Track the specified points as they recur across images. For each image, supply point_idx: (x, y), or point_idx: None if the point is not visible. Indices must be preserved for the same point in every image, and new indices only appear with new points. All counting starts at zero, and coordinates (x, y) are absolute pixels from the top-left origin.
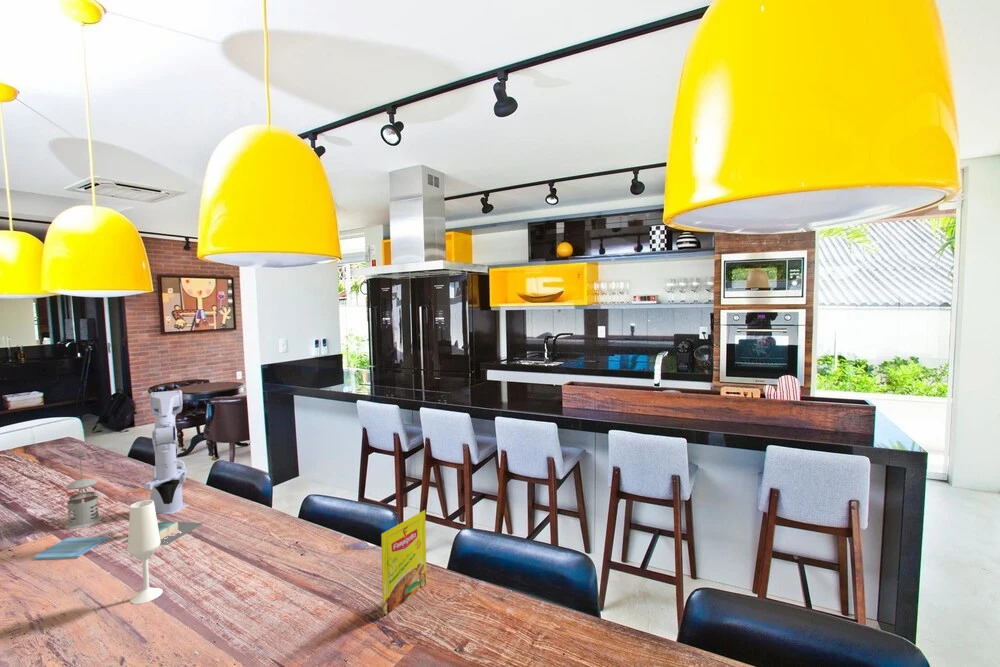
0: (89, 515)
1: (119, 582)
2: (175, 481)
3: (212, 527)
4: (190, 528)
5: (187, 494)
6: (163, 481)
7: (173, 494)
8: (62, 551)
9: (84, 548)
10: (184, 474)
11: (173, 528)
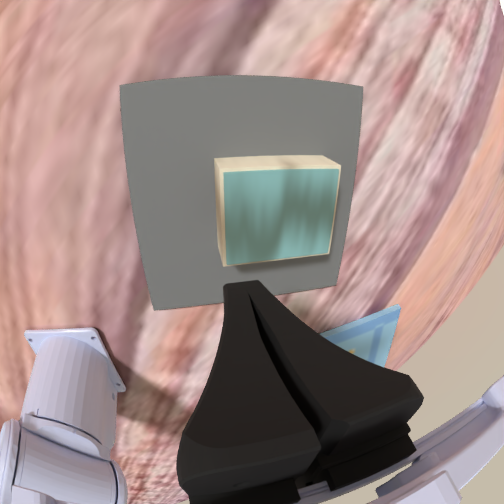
0: None
1: (498, 95)
2: (274, 468)
3: (148, 12)
4: (192, 100)
5: (3, 385)
6: (481, 447)
7: (236, 326)
8: (369, 357)
9: (364, 333)
10: (43, 501)
11: (248, 161)
